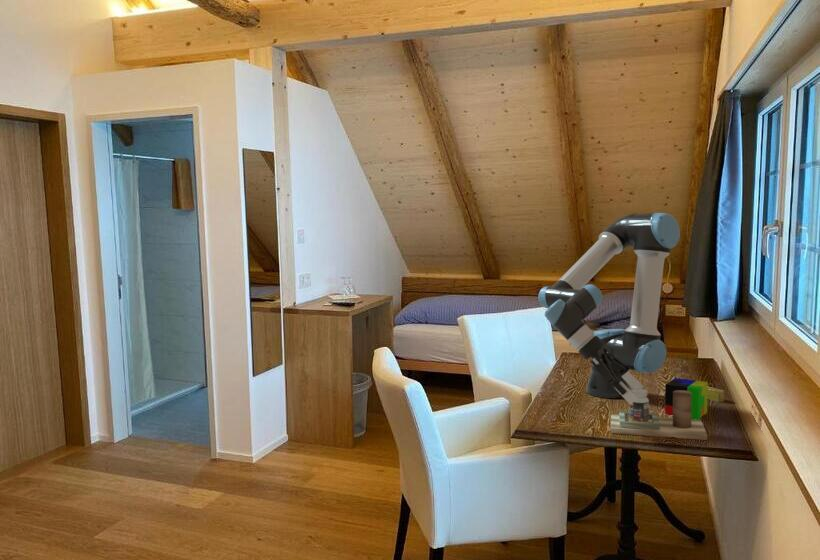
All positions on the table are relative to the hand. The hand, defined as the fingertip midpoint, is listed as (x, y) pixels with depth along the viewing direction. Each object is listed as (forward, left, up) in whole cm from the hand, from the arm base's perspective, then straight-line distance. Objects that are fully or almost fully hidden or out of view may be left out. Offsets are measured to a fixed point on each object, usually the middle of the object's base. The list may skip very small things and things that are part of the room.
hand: (637, 395), depth 192 cm
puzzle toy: (-18, +16, -10) cm, 26 cm away
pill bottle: (-1, 0, -9) cm, 9 cm away
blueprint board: (0, +6, -10) cm, 11 cm away
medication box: (-39, +24, -10) cm, 47 cm away
